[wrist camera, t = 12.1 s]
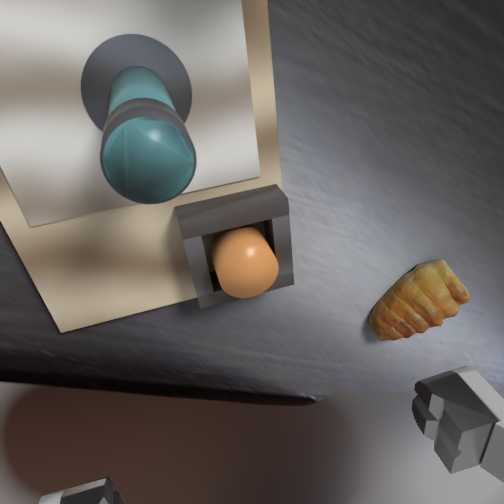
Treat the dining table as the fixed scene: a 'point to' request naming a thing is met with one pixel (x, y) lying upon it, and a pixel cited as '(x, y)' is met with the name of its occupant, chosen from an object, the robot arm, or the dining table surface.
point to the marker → (145, 140)
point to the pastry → (418, 301)
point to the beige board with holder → (90, 138)
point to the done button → (243, 261)
